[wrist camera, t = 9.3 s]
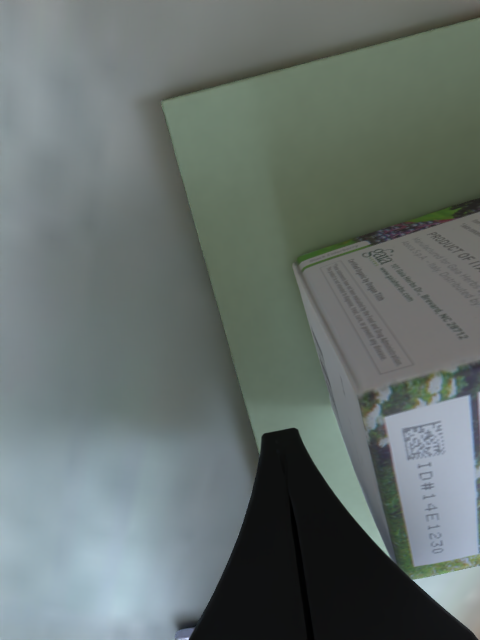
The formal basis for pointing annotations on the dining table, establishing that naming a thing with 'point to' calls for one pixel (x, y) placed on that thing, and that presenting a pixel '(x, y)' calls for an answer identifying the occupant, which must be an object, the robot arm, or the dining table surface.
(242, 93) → the mat
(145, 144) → the dining table surface
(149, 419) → the dining table surface
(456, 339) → the syrup box
